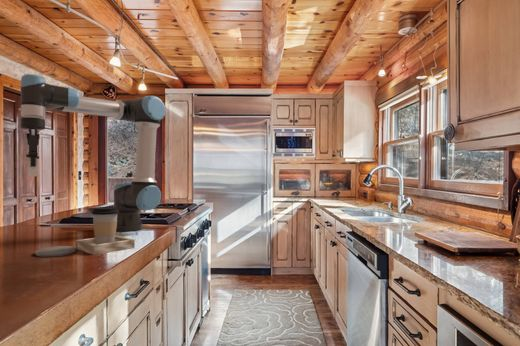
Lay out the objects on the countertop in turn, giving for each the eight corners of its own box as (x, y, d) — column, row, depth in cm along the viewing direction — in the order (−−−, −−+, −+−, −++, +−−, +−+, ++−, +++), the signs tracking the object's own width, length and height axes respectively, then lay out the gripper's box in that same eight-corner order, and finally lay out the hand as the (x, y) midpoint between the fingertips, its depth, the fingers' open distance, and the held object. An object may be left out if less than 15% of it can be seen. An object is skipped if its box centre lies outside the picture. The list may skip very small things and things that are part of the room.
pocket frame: (115, 242, 139) (115, 235, 139) (134, 247, 130) (134, 239, 130) (75, 248, 128) (75, 240, 128) (93, 254, 118) (93, 246, 118)
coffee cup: (93, 246, 132) (93, 207, 132) (119, 244, 135) (120, 206, 135) (89, 251, 123) (89, 209, 123) (117, 250, 126) (118, 208, 126)
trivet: (67, 247, 129) (67, 244, 129) (81, 252, 121) (81, 249, 121) (30, 253, 120) (30, 249, 120) (42, 258, 112) (42, 255, 112)
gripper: (21, 121, 135) (21, 175, 135) (19, 112, 114) (19, 176, 114) (44, 122, 139) (44, 175, 139) (46, 114, 118) (46, 176, 118)
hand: (33, 176), depth 127 cm, fingers open, 13 cm apart
